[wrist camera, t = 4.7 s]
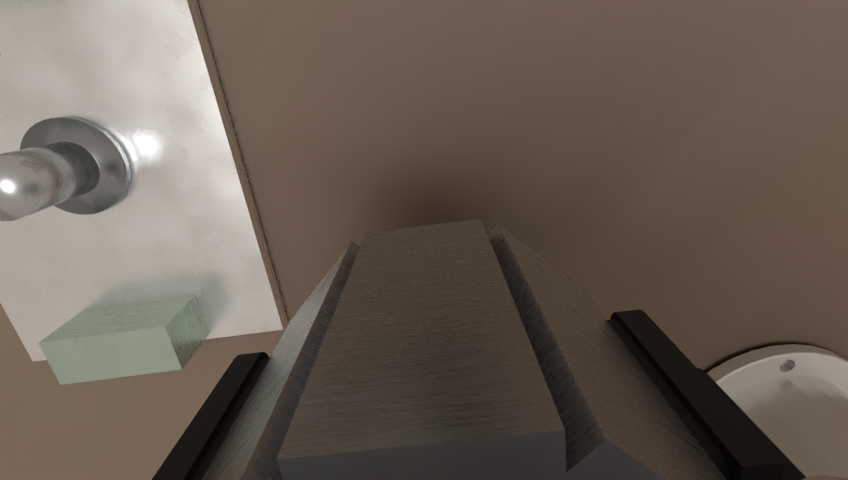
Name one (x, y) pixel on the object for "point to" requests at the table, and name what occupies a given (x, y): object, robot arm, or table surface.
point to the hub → (454, 375)
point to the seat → (122, 190)
